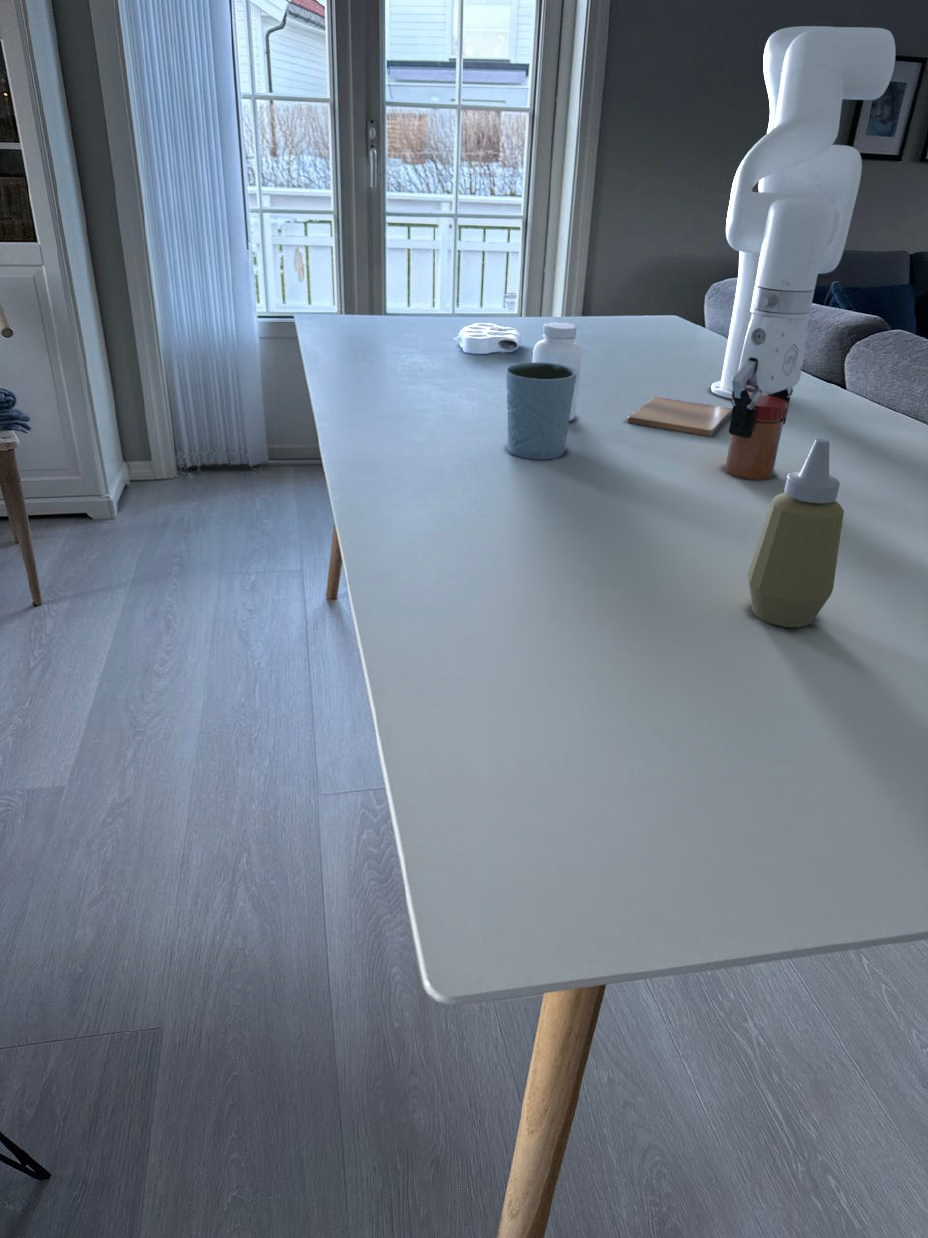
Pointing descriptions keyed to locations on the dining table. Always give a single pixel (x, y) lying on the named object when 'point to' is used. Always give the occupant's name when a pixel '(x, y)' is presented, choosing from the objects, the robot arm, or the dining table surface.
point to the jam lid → (770, 408)
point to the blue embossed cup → (539, 408)
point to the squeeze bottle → (798, 546)
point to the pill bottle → (560, 351)
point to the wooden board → (681, 416)
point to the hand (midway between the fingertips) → (756, 429)
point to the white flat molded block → (488, 338)
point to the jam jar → (755, 451)
